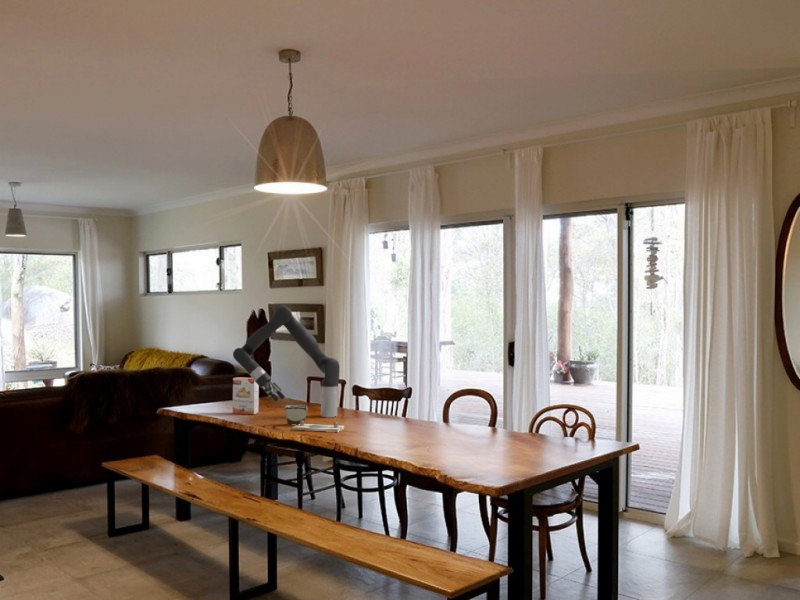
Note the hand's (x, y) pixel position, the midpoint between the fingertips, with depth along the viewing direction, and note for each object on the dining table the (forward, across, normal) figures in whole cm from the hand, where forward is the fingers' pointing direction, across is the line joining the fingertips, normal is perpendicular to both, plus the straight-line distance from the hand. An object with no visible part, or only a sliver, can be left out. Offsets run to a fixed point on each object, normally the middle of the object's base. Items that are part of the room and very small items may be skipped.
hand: (280, 399), depth 363 cm
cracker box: (-14, +27, +32) cm, 44 cm away
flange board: (+27, -12, -9) cm, 31 cm away
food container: (+16, 0, +3) cm, 16 cm away
